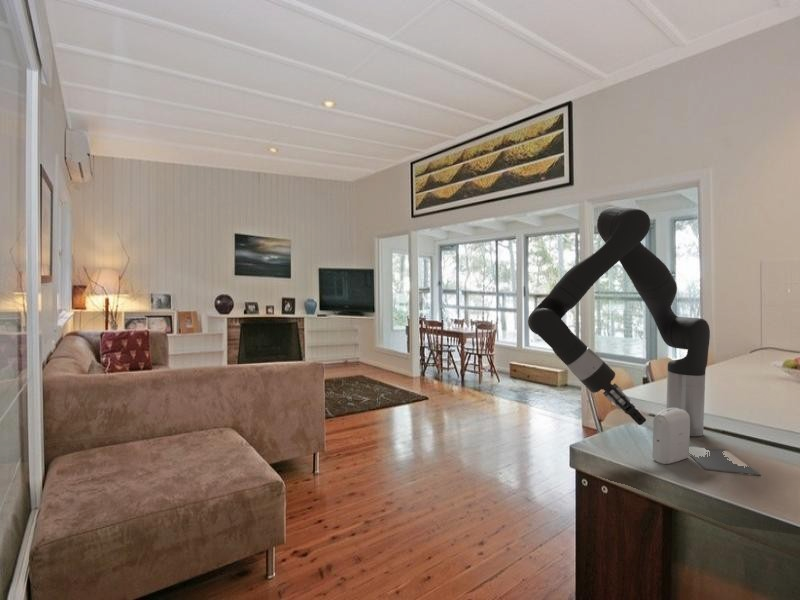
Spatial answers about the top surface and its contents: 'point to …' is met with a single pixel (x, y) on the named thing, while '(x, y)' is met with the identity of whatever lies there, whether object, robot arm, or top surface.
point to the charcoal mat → (721, 463)
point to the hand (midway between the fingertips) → (642, 422)
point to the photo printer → (671, 435)
